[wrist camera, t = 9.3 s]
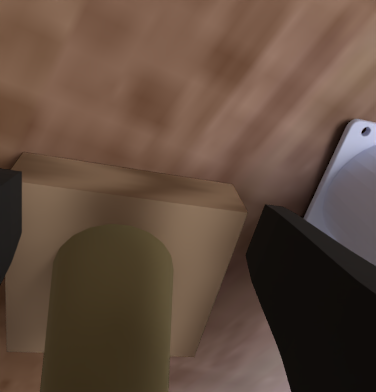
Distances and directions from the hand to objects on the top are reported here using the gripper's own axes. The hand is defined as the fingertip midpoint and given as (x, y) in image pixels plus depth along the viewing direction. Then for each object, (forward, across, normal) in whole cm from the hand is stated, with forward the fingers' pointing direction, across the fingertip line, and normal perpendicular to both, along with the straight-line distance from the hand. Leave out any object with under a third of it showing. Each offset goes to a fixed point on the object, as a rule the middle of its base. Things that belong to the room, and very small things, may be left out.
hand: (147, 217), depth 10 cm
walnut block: (+8, 0, +8) cm, 11 cm away
